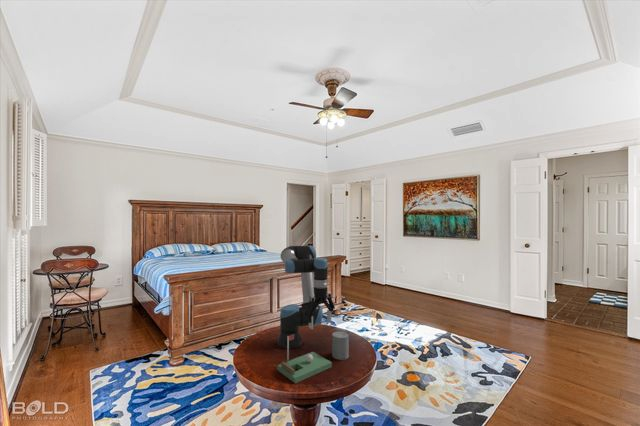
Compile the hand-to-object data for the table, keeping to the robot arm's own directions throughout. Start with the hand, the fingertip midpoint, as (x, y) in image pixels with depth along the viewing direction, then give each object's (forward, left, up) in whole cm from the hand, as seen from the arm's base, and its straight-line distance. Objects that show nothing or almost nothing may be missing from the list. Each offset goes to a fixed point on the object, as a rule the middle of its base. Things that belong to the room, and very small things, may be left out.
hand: (320, 325), depth 167 cm
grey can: (+2, +14, -21) cm, 25 cm away
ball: (0, -8, -16) cm, 18 cm away
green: (0, -11, -20) cm, 23 cm away
